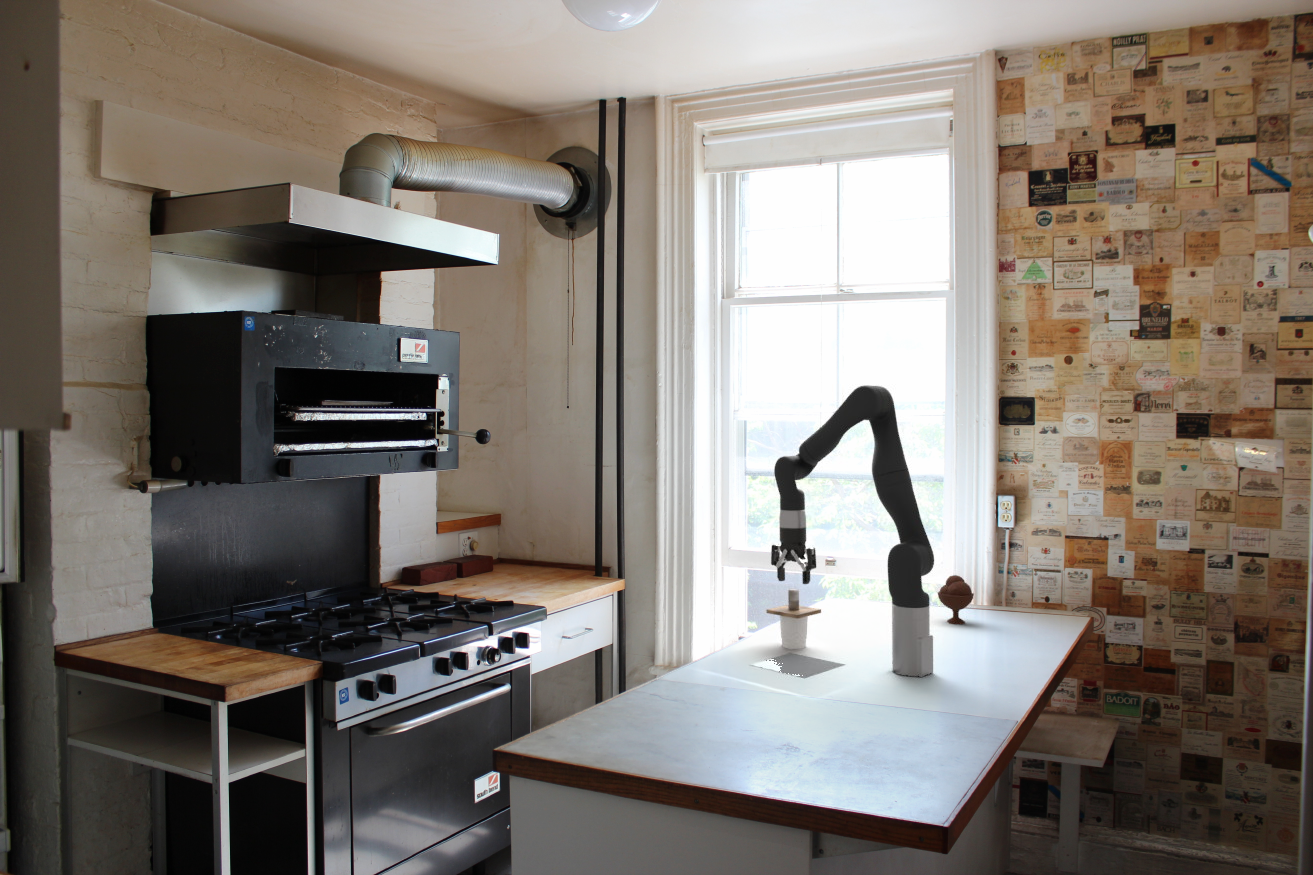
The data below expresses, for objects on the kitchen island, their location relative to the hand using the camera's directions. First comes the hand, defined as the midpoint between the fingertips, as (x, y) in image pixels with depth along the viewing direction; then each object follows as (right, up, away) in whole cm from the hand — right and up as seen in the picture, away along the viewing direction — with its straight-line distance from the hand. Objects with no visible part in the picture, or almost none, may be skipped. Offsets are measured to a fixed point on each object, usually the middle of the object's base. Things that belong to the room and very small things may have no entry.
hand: (793, 582), depth 252 cm
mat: (-2, -19, -20) cm, 28 cm away
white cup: (0, -19, 0) cm, 19 cm away
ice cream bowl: (+57, -18, +32) cm, 68 cm away
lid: (0, -9, 0) cm, 9 cm away
